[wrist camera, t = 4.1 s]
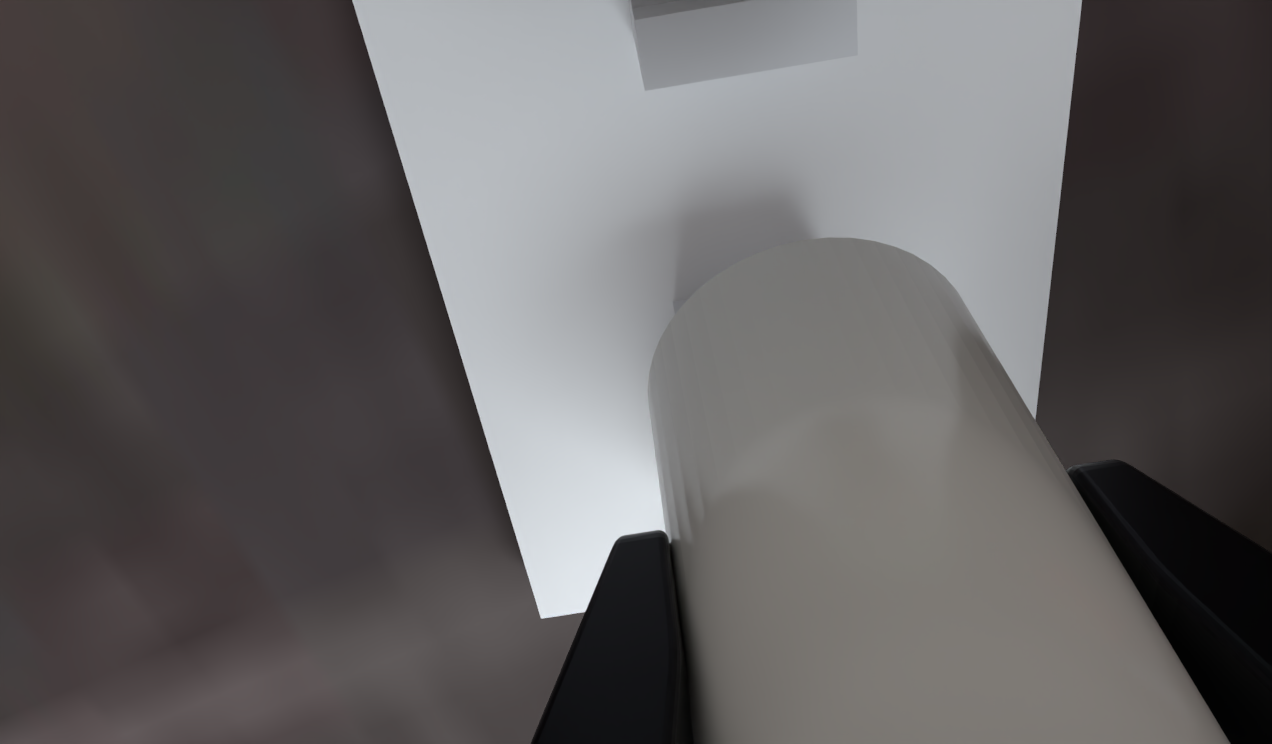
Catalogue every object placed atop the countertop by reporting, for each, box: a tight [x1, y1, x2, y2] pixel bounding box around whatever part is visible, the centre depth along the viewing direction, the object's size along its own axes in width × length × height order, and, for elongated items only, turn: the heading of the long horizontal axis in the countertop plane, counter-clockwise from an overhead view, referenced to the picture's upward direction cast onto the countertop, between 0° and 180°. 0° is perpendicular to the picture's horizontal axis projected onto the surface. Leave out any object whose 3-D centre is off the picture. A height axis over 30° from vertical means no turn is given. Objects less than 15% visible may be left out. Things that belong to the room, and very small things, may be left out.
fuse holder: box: [352, 0, 1082, 619], centre depth 13 cm, size 9×17×5 cm, turn 8°
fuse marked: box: [648, 237, 1230, 744], centre depth 7 cm, size 3×3×8 cm
